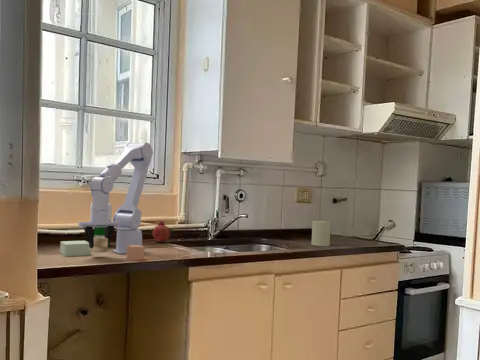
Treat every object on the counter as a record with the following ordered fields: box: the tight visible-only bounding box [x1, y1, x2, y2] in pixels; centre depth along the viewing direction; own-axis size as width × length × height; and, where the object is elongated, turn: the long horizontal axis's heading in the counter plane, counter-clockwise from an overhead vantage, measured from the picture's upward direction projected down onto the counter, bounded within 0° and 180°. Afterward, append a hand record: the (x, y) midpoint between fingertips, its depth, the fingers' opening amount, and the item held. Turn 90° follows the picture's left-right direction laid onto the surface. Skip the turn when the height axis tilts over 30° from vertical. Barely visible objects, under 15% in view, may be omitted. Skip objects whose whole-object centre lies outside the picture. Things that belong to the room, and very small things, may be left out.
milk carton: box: [89, 202, 113, 247], centre depth 196 cm, size 9×9×20 cm
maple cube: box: [90, 237, 109, 254], centre depth 167 cm, size 5×5×5 cm
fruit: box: [152, 220, 171, 243], centre depth 214 cm, size 8×8×10 cm
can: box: [310, 220, 332, 247], centre depth 229 cm, size 9×9×12 cm
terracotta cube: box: [126, 245, 146, 261], centre depth 167 cm, size 5×5×5 cm
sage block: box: [59, 240, 91, 257], centre depth 173 cm, size 9×9×4 cm
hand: (98, 247), depth 167 cm, fingers closed on maple cube, 5 cm apart
